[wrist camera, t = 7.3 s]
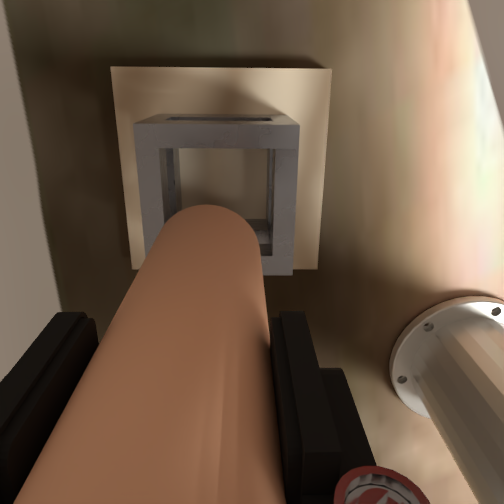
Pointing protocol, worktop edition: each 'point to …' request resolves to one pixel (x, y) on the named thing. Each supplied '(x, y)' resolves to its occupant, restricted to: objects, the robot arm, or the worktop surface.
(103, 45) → the worktop surface
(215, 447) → the peg
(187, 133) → the collar stand
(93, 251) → the worktop surface
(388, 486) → the robot arm
